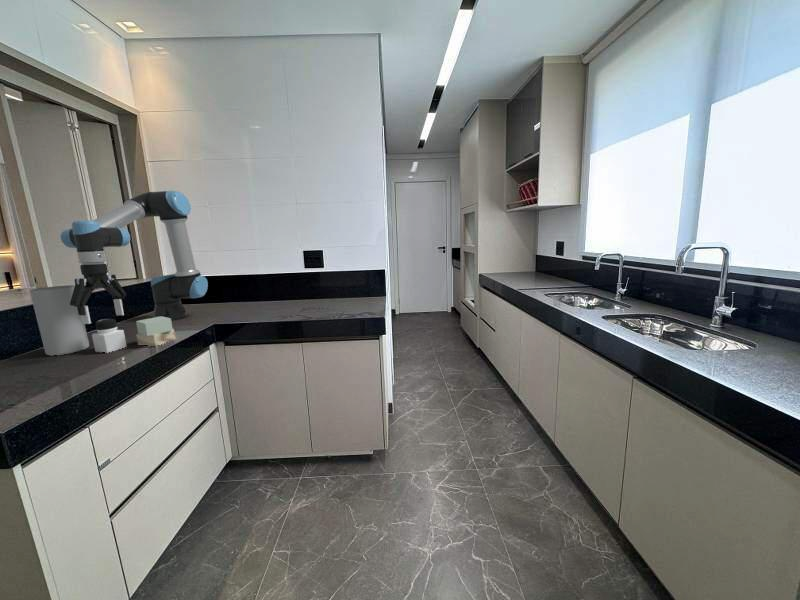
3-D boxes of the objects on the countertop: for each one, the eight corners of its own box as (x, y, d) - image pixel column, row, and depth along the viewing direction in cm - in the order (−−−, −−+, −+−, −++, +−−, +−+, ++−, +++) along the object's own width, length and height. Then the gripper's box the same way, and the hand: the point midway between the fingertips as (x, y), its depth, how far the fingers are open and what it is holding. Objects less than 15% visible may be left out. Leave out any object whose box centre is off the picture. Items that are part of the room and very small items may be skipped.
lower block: (159, 339, 146) (157, 328, 145) (176, 340, 144) (174, 328, 143) (138, 346, 137) (136, 334, 137) (155, 347, 135) (153, 335, 134)
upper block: (163, 327, 145) (161, 316, 144) (172, 330, 140) (170, 318, 139) (138, 333, 138) (135, 321, 137) (147, 336, 133) (145, 323, 132)
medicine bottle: (127, 347, 136) (121, 317, 133) (107, 353, 129) (100, 322, 127) (115, 346, 138) (109, 317, 136) (95, 352, 132) (88, 321, 129)
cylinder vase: (95, 348, 136) (81, 286, 132) (52, 358, 126) (35, 291, 121) (82, 344, 143) (69, 284, 138) (41, 353, 132) (24, 289, 127)
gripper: (67, 266, 115) (80, 327, 118) (131, 260, 139) (140, 312, 143) (47, 266, 115) (60, 327, 119) (114, 261, 140) (124, 312, 144)
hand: (104, 319), depth 131 cm, fingers open, 13 cm apart
